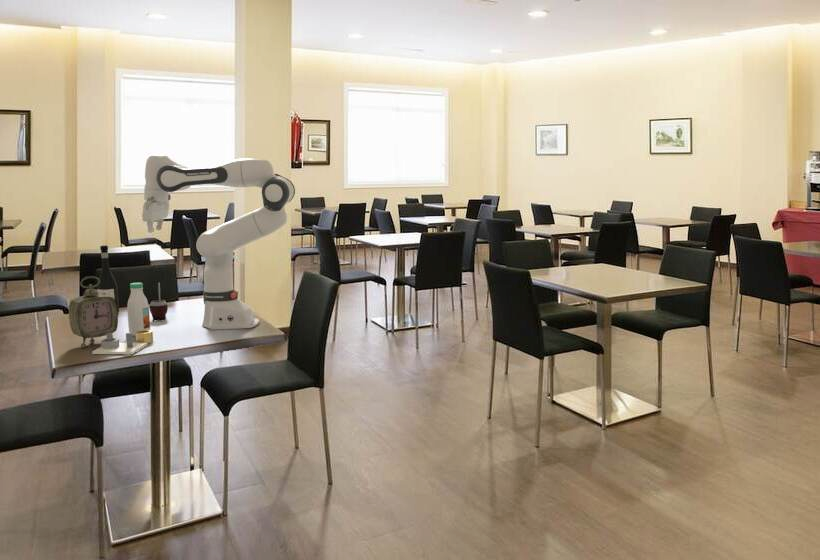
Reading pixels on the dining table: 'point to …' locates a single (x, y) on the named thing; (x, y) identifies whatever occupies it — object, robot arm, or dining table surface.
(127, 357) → the dining table surface
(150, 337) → the brass gear
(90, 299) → the tabletop clock
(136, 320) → the milk bottle
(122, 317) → the dining table surface
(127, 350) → the gear board
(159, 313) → the mate gourd
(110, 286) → the wine bottle
